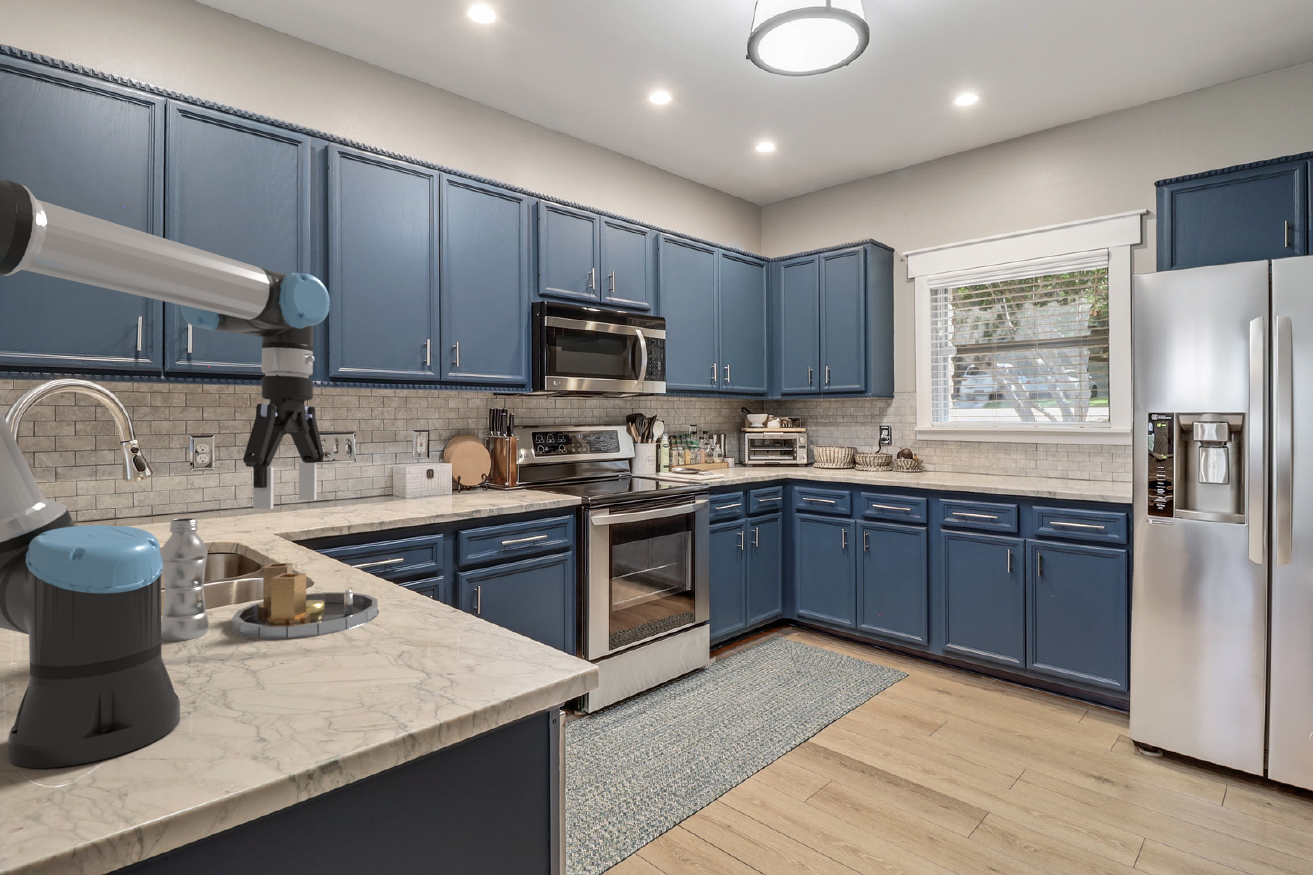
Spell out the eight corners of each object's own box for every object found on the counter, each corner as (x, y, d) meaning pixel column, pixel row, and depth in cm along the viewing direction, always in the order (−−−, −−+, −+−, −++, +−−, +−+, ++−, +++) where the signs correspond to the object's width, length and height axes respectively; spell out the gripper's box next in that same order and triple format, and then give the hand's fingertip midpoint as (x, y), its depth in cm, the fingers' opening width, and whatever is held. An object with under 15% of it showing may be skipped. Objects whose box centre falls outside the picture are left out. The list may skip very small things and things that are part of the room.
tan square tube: (293, 618, 121) (292, 568, 120) (253, 621, 119) (253, 569, 119) (301, 609, 126) (301, 561, 126) (264, 611, 125) (264, 562, 125)
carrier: (344, 646, 110) (343, 610, 109) (200, 645, 110) (200, 608, 109) (398, 607, 133) (398, 577, 132) (279, 606, 133) (279, 576, 132)
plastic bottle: (169, 652, 106) (168, 523, 106) (154, 643, 111) (153, 519, 110) (215, 641, 112) (214, 519, 111) (199, 633, 116) (198, 515, 115)
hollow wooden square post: (298, 635, 111) (297, 580, 111) (259, 635, 111) (259, 579, 111) (316, 624, 118) (316, 571, 117) (280, 623, 118) (280, 571, 117)
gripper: (267, 369, 101) (266, 513, 101) (344, 381, 126) (343, 496, 126) (216, 369, 101) (216, 512, 101) (303, 381, 126) (303, 496, 126)
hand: (286, 504), depth 114 cm, fingers open, 13 cm apart
